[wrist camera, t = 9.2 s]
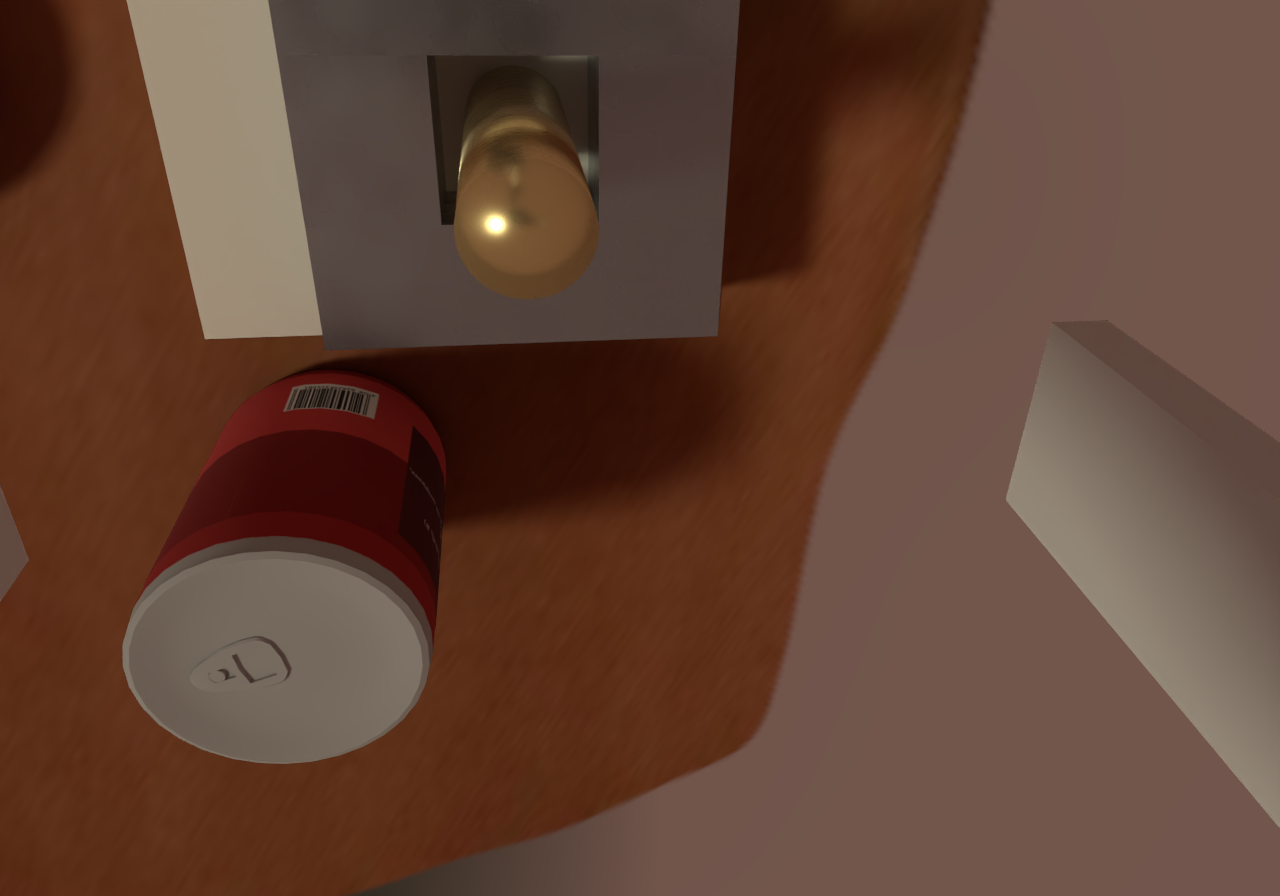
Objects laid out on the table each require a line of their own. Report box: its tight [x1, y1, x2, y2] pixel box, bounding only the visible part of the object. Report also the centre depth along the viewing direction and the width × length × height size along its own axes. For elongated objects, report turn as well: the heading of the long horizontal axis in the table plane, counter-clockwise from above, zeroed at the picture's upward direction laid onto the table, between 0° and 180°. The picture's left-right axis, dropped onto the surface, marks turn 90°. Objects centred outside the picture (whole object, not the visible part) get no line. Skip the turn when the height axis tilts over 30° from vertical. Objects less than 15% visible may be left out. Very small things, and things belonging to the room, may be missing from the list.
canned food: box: [123, 369, 446, 764], centre depth 30 cm, size 8×8×11 cm
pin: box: [454, 65, 599, 299], centre depth 24 cm, size 3×3×11 cm
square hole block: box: [268, 0, 740, 350], centre depth 28 cm, size 12×12×4 cm
